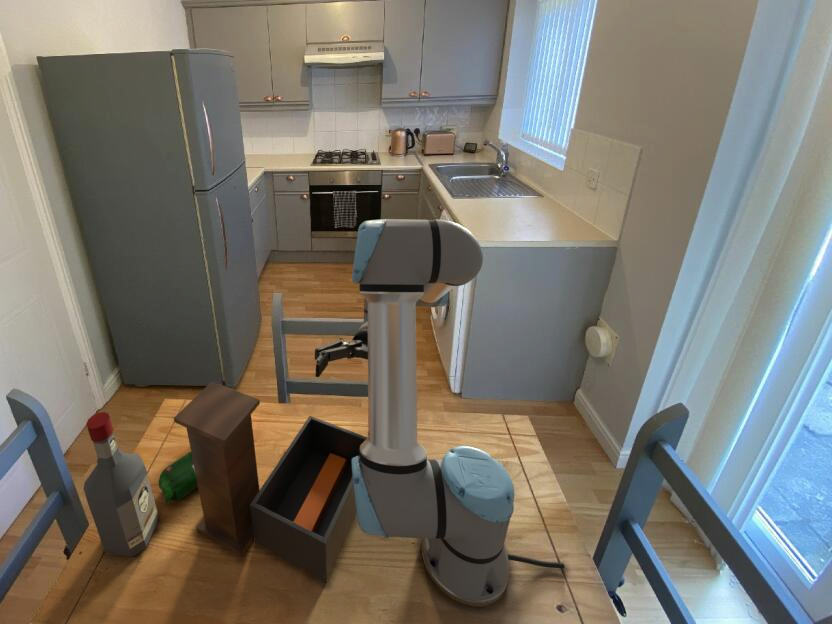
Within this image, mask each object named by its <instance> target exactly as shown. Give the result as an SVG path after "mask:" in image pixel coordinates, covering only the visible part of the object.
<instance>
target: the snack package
mask: <svg viewBox="0 0 832 624" xmlns="http://www.w3.org/2000/svg"><path fill="white" fill-rule="evenodd" d="M158 488H159V489H160V490H161V492H162V493H163V496H164V503H165V504H167V503H170V502H172V501H179V500H181V499H183V498H184V497H186V496H187V495H188V494H190V493H191V492H192V491H195V489H198V484H197V479H196V474H195V469H194V464H193V459H192V454H191V451H189V452H188V453H186V454H184V455H182V456H181V457H179V458H178V459H176V460H175V461H173V462H172V463H170V464H168V465H167V466H166V467H165V468H163V470H162V471H161V472H160V475H159V478H158Z"/></svg>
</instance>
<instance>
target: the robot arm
mask: <svg viewBox="0 0 832 624" xmlns="http://www.w3.org/2000/svg"><path fill="white" fill-rule="evenodd" d="M354 250H355V251H354V257H353V265H352V272H351V273H352V274H351V282H352V283H354V284H358V285H359V292H358V293H359V294H360V295H361V297H363V322H362V324H361V326H360V327H359V328H358V329H357V332H356V333H355V334H354V336H353V338H352V339H351V340H350V341H348V342H347V341H344V338H342V337H339V338H337V339H336V340H334V341H332V342H328V343H326V344H323V345H321V346H318V347H316V348H314V360H315V361H316V363H315V375H314V376H315V378H320V377H321V375H322V373H323V372H324V371H325V370H326V369H327V367H328V365H329V362H334V361H338V360H343V359H347V360H351V359H355V358H356V359H363V360H367V437H368V438H367V439H366V440H365V441H364V442H363V443H362V444H361V446H360V457H359V456H356V457H353V458H352V475H353V483H354V494H355V503H356V510H357V513H356V517H357V523H358V526H359V529H360V530H361V531H362V532H363V533H364V534H365V535H368V536H375V537H383V538H384V539H389V538H405V539H406V538H407V539H408V538H409V539H422V541H421V557H422V562H423V564H424V568H425V570H426V573H427V574H428V576H429V577H430V579H431V581H432V582H433V583H434V585H435V586H436V587H437V588H438V589H439V590H440V591H441V592H442V593H443V594H444V595H445V596H446V597H448V598H449V599H451V600H453V601H455V602H457V603H459V604H460V605H464V606H468V607H473V608H482V607H483V608H484V607H487V606H491V605H492V604H494V603H496V602H497V601H498V600H500V599H501V598H502V596H503V595H504V593H505V592H506V589H507V586H508V582H509V579H510V571H511V569H510V561H513V562H515V561H516V562H519V563H524V564H529V565H533V566H537V567H543V568H551V569H565V563H564V562H555V561H545V560H538V559H533V558H530V557H525V556H520V555H515V554H511V553H508V552H507V549H506V545H505V542H506V538H507V534H508V529H509V526H510V522H511V518H512V516H513V514H514V510H515V506H514V502H515V488H514V483H513V481H512V478H511V476H510V474H509V472H508V471H507V470H506V468H505V467H504V466H503V464H502V463H500V461H499V460H497V459H495V458H493V457H492V455H491V454H489V453H488V452H486V451H484V450H482V449H480V448H477V447H474V446H468V445H458V446H454V447H452V448H451V449H449V451H446V453H445V454H444V455H443V457H442V459H428V453H427V450H426V448H425V447H424V446H423V445H422V444H421V443H420V442H419V437H418V434H419V433H418V380H417V379H418V378H417V315H416V314H417V313H416V311H417V309H416V308H417V307H425V308H426V307H427V308H429V307H430V308H437V307H439V308H440V307H445V306H446V305H448V301H449V292H450V291H451V290H452V289H453V288H455V287H461V286H464V285H466V284H468V283H470V282H471V281H472V280H473V279H475V278H476V277H477V276H478V274H479V273H480V271H481V269H482V267H483V262H484V252H483V249H482V246H481V244H480V242H479V240H478V239H477V238H476V236H475V235H474V234H473V233H472V232H471V231H470V230H468V228H466V227H464V226H463V225H461V224H459V223H456V222H453V221H450V220H446V219H403V218H400V219H399V218H394V219H393V218H383V219H371V220H364V221H363V222H361V224H360V225H359V226H358V229H357V236H356V241H355V249H354Z"/></svg>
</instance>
